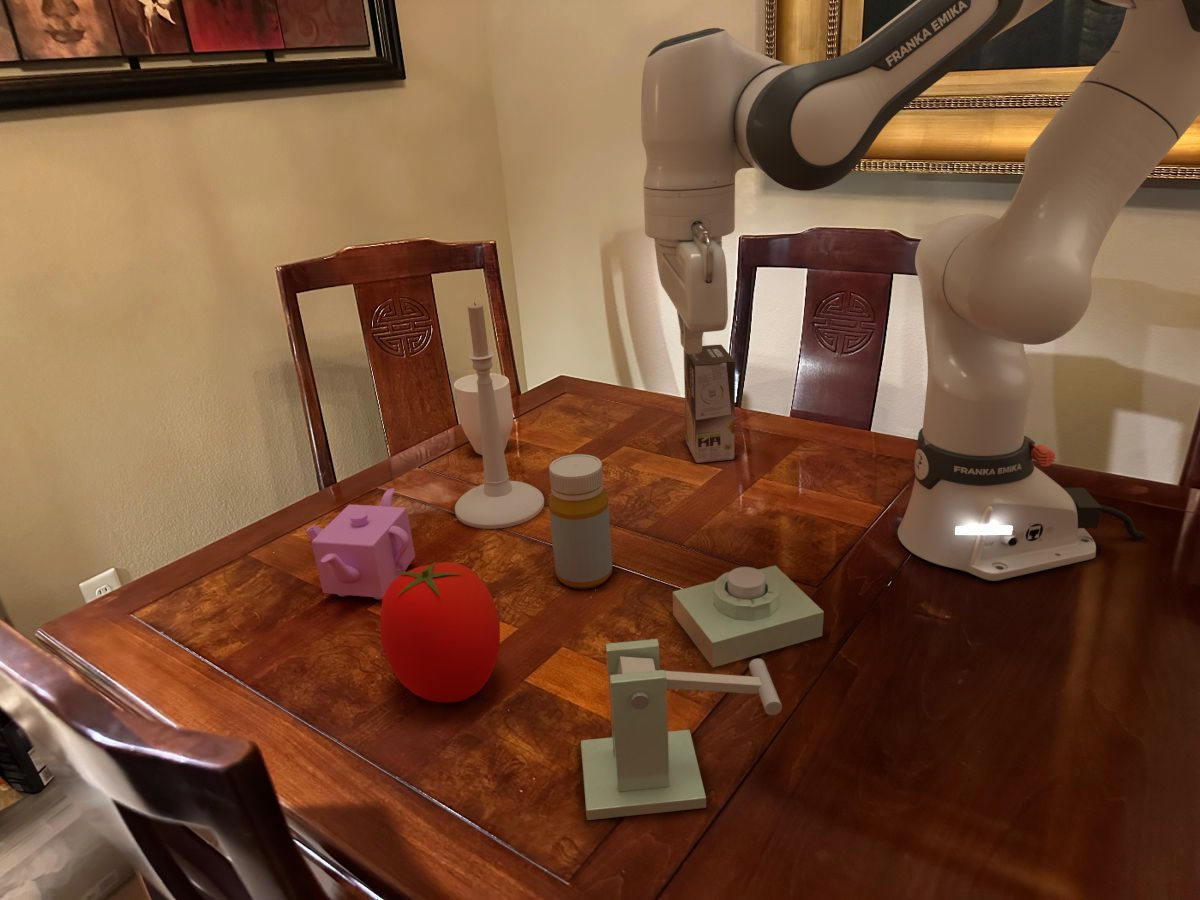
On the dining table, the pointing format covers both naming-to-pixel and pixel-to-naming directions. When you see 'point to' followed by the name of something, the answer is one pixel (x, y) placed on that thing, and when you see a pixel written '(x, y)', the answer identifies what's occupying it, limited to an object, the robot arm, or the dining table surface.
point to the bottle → (580, 521)
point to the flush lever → (714, 681)
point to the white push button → (746, 583)
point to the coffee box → (710, 404)
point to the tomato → (440, 631)
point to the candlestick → (493, 453)
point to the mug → (470, 407)
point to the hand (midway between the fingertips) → (691, 350)
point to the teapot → (363, 549)
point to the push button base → (746, 618)
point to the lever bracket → (639, 746)
